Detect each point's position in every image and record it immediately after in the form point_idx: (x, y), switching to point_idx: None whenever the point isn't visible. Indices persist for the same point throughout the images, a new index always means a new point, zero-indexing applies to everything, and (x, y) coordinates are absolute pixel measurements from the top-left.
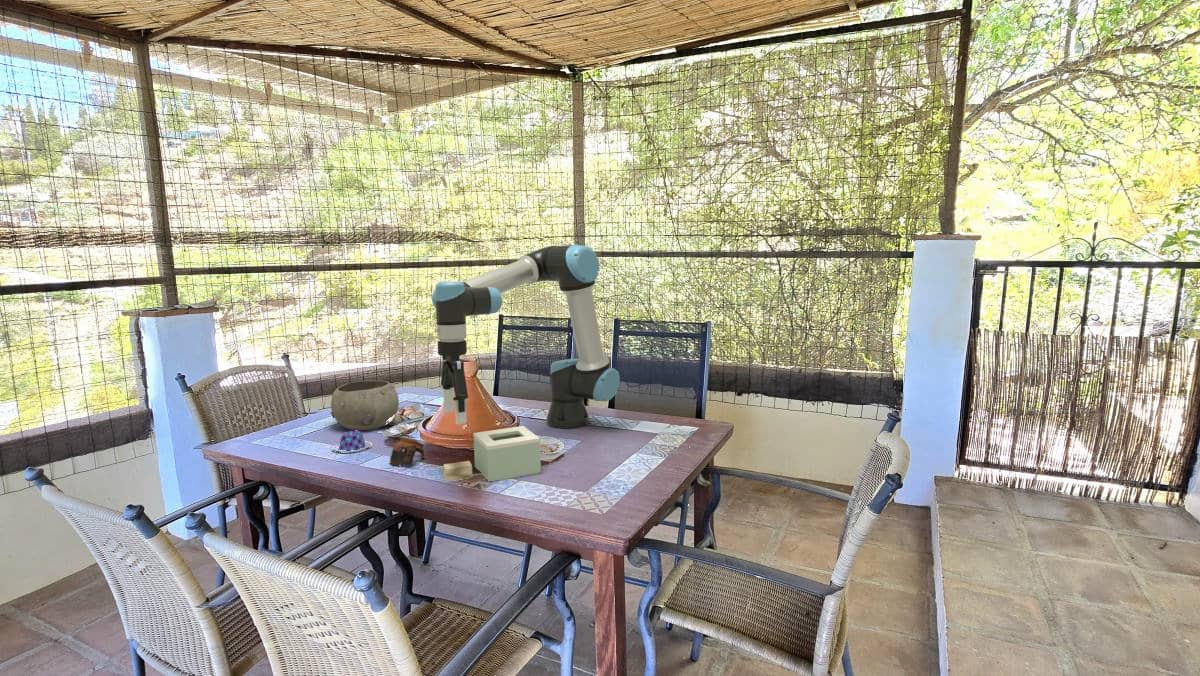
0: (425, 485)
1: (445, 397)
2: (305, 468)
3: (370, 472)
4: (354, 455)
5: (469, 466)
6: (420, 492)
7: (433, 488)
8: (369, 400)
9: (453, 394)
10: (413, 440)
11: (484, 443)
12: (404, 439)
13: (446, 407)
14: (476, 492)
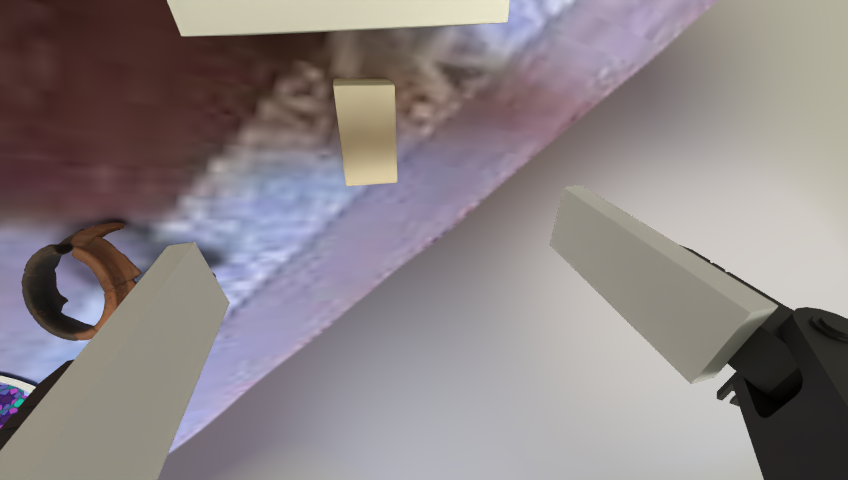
0: (388, 218)
1: (169, 421)
2: (192, 428)
3: (246, 332)
4: None
5: (393, 95)
6: (430, 228)
7: (418, 200)
8: None
9: (89, 396)
10: (110, 299)
11: (448, 22)
12: None
13: (209, 324)
14: (504, 91)
